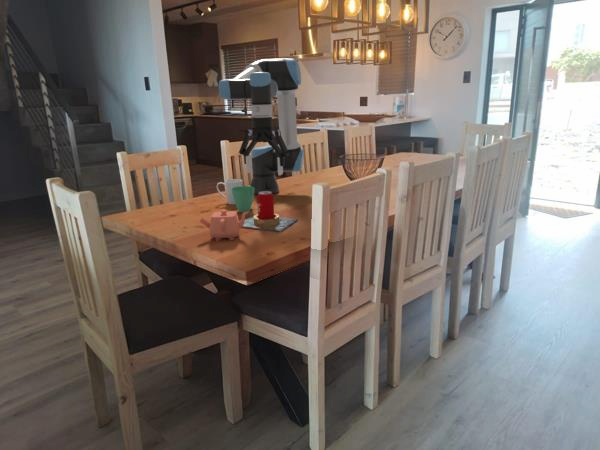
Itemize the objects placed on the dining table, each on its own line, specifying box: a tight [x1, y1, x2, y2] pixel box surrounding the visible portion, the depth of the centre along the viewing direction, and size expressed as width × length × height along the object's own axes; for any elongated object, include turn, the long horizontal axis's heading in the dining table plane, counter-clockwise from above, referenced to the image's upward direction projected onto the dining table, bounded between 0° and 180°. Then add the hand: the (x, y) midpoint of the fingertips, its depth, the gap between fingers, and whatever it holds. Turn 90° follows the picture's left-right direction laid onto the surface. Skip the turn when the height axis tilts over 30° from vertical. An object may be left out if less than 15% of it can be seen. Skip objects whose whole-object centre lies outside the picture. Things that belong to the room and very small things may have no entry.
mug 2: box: [232, 185, 255, 213], centre depth 193 cm, size 15×10×10 cm
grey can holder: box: [241, 212, 299, 233], centre depth 173 cm, size 16×20×3 cm
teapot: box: [199, 209, 251, 242], centre depth 157 cm, size 14×12×10 cm
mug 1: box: [216, 178, 244, 206], centre depth 205 cm, size 12×8×10 cm, turn 91°
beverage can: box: [256, 191, 275, 219], centre depth 172 cm, size 6×6×12 cm
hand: (264, 173), depth 168 cm, fingers open, 13 cm apart
